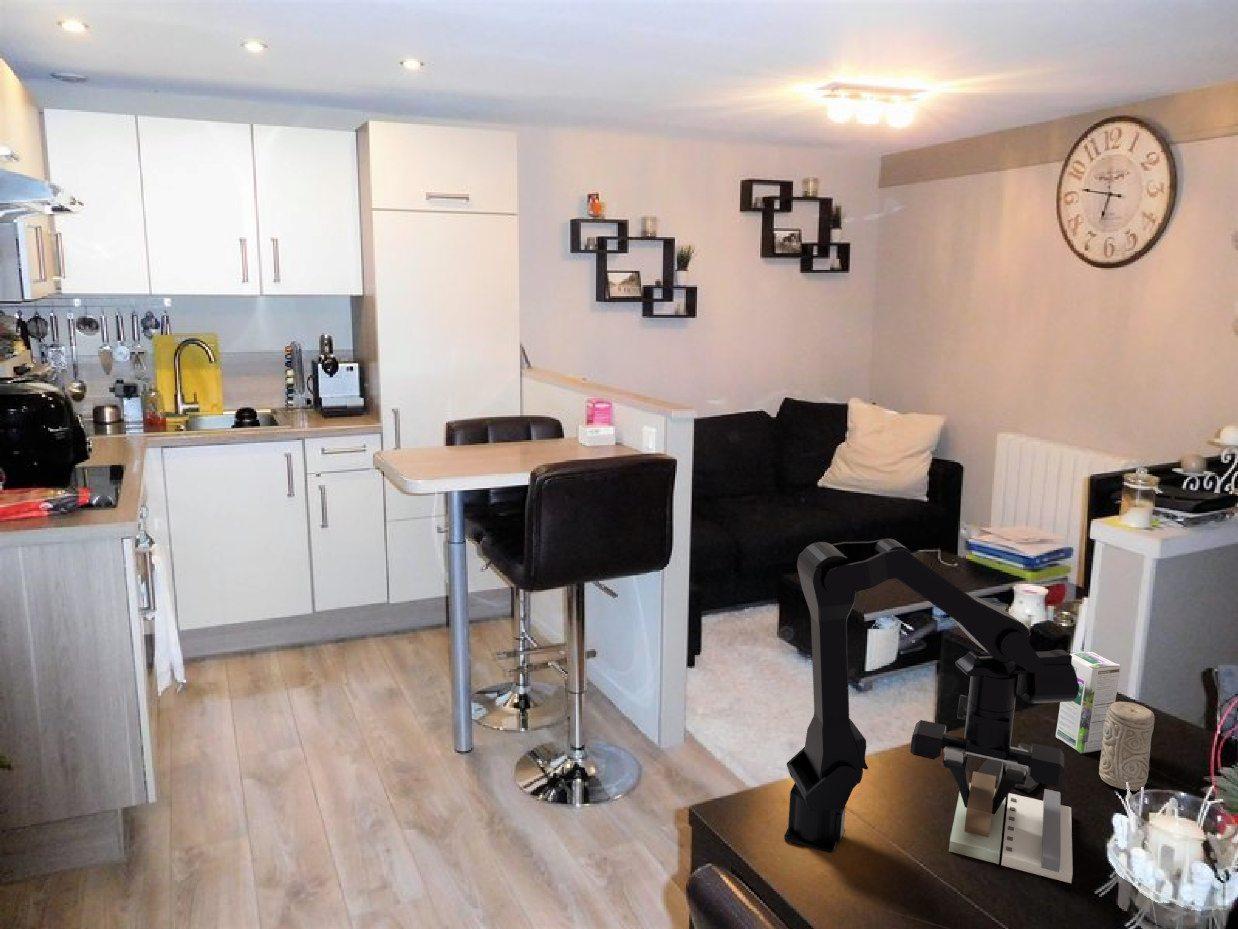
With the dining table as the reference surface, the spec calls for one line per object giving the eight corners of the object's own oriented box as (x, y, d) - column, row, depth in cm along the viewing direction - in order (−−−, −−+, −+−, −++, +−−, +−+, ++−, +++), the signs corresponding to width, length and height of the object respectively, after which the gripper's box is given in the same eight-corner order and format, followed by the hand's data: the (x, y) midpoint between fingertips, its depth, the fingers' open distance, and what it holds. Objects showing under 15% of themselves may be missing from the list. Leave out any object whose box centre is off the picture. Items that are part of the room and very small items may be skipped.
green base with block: (948, 851, 119) (952, 816, 118) (960, 790, 133) (963, 759, 132) (998, 864, 117) (1002, 828, 116) (1005, 800, 131) (1008, 768, 130)
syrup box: (1054, 737, 150) (1064, 653, 147) (1083, 732, 151) (1093, 649, 148) (1080, 754, 144) (1091, 668, 141) (1110, 749, 146) (1122, 664, 143)
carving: (1150, 781, 137) (1161, 706, 135) (1140, 802, 131) (1151, 725, 129) (1103, 766, 141) (1113, 693, 138) (1091, 787, 135) (1101, 711, 133)
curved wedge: (1061, 764, 142) (1063, 755, 142) (1030, 800, 132) (1031, 789, 132) (1007, 745, 148) (1008, 736, 147) (972, 778, 138) (974, 768, 138)
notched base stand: (1000, 868, 116) (1003, 846, 115) (1007, 801, 131) (1009, 781, 131) (1071, 886, 113) (1074, 864, 112) (1069, 815, 128) (1072, 795, 127)
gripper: (1069, 692, 125) (1056, 797, 128) (925, 666, 132) (916, 765, 135) (1069, 728, 115) (1055, 840, 118) (914, 697, 122) (905, 803, 126)
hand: (980, 809), depth 124 cm, fingers closed on green base with block, 3 cm apart
